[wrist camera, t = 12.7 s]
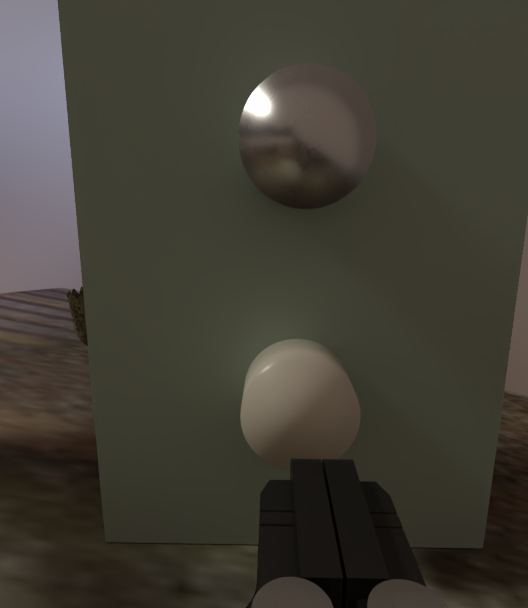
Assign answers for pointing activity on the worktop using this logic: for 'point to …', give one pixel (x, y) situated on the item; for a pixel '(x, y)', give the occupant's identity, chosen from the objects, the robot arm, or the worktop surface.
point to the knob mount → (295, 251)
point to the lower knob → (298, 404)
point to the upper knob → (307, 136)
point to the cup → (78, 313)
